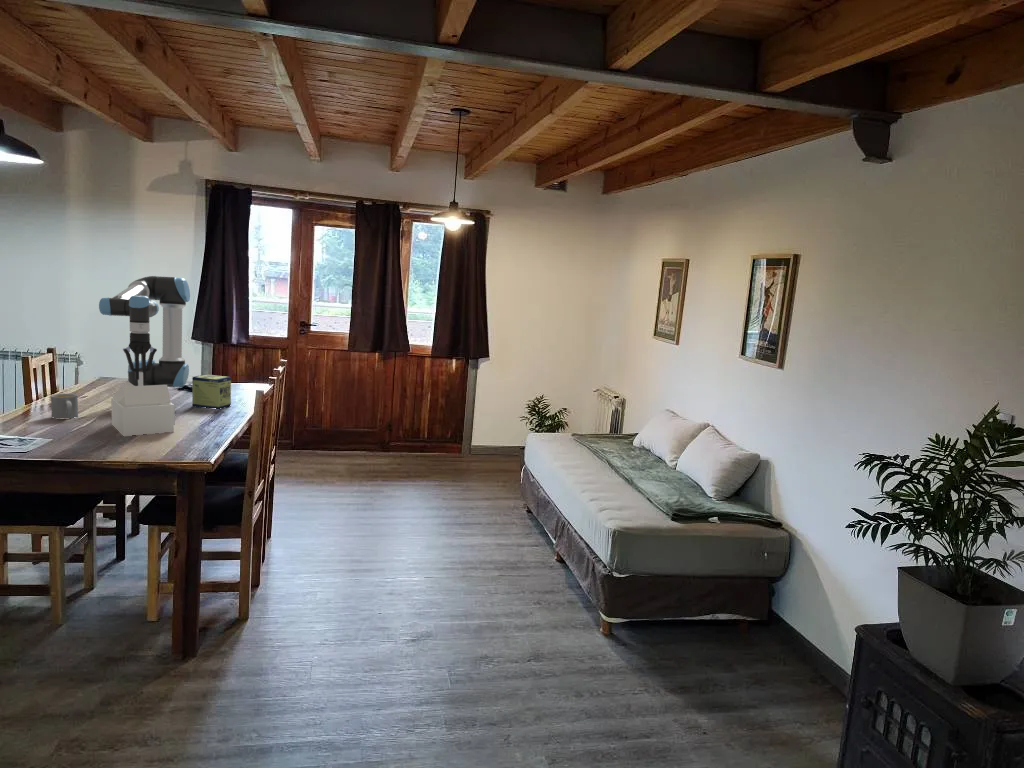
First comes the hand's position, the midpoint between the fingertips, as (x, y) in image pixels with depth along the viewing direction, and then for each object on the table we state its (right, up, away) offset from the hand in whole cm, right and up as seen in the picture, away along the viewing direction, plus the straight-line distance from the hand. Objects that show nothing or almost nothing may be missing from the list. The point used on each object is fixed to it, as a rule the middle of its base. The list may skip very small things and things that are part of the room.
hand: (140, 386), depth 294 cm
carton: (0, -18, +2) cm, 18 cm away
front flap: (+9, -7, -9) cm, 15 cm away
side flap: (-8, -6, -5) cm, 11 cm away
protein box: (+6, -11, +56) cm, 57 cm away
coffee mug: (-40, -14, +12) cm, 44 cm away
